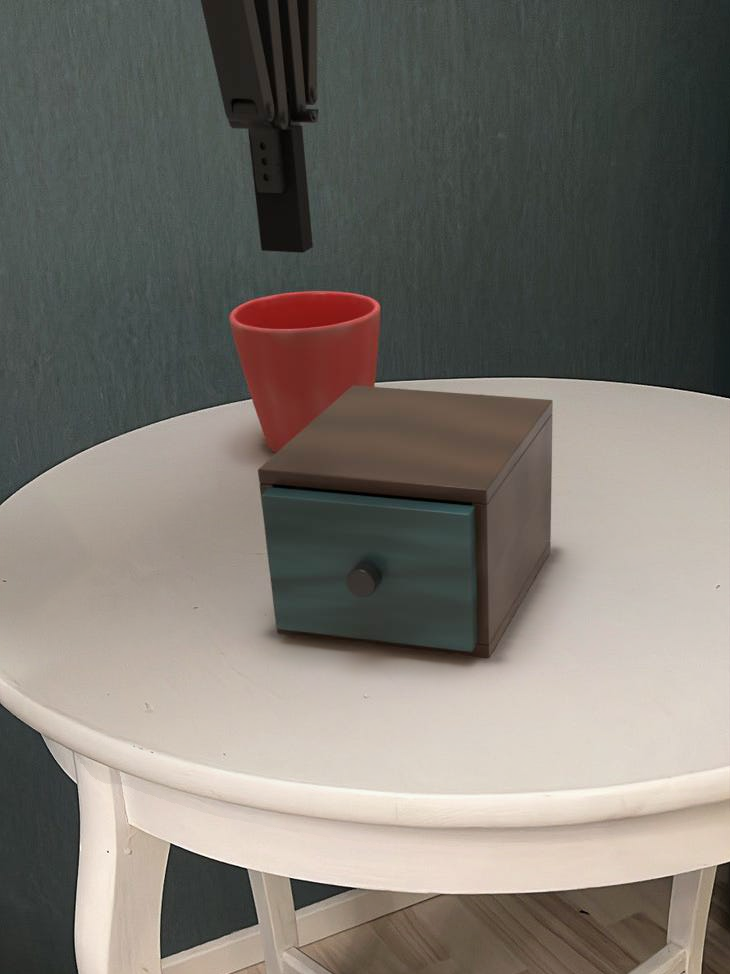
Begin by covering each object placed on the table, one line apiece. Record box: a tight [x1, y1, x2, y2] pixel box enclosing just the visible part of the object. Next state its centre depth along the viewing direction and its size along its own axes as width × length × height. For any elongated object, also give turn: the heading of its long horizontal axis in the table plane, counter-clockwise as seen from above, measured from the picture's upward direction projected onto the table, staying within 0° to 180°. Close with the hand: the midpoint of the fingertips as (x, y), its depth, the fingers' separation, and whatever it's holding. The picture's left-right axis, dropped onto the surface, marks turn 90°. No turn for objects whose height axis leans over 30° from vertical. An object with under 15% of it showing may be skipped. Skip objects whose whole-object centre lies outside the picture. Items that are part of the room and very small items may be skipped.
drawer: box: [260, 486, 478, 652], centre depth 76 cm, size 15×11×8 cm
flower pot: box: [229, 290, 381, 454], centre depth 100 cm, size 11×11×10 cm
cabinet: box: [257, 385, 554, 658], centre depth 78 cm, size 15×13×10 cm
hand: (287, 248), depth 81 cm, fingers closed
